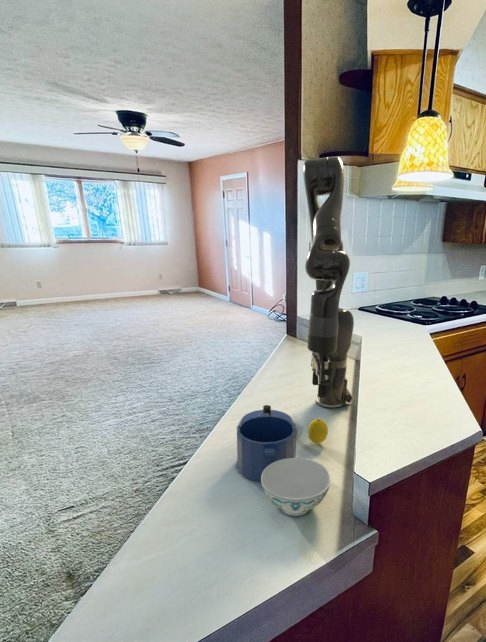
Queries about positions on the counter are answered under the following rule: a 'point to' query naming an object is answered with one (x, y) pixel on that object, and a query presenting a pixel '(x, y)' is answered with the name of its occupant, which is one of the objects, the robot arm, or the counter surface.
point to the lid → (268, 410)
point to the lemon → (317, 431)
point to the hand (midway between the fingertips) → (318, 390)
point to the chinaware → (295, 484)
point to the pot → (264, 443)
